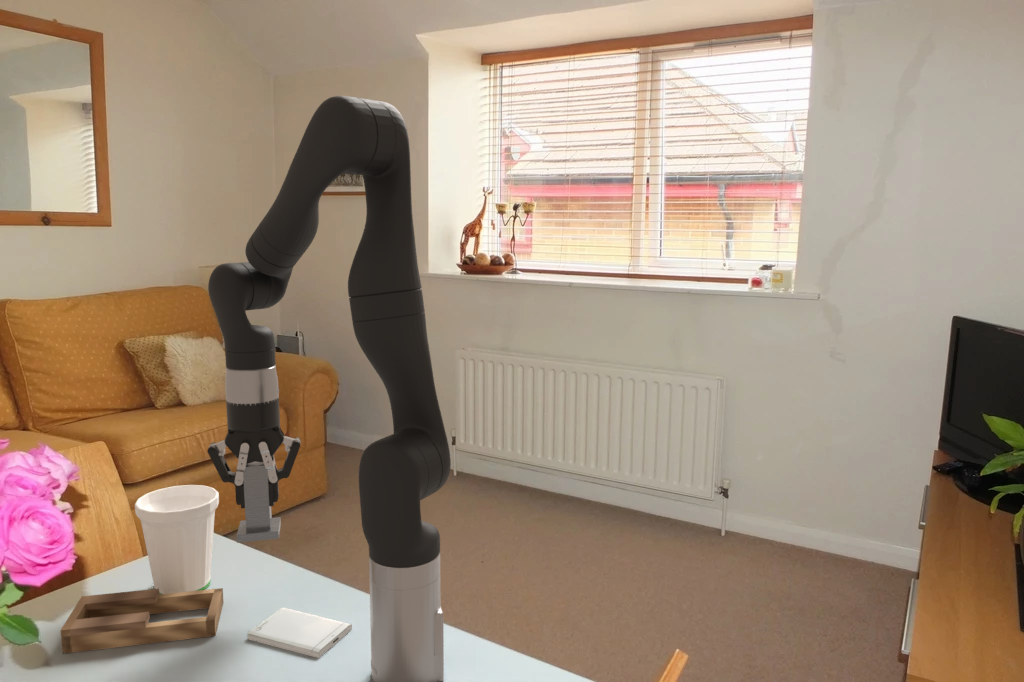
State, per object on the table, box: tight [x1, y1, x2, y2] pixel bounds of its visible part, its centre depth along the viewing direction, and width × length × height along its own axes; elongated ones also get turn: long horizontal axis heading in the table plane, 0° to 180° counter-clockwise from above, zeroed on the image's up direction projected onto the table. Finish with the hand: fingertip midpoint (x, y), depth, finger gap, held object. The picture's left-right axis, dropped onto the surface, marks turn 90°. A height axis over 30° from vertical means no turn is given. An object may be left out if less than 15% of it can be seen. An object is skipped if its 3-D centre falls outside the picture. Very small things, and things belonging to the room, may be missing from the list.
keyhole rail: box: [60, 587, 225, 654], centre depth 112 cm, size 20×10×4 cm, turn 104°
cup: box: [134, 484, 220, 594], centre depth 124 cm, size 12×12×15 cm
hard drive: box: [247, 607, 353, 659], centre depth 111 cm, size 2×8×12 cm
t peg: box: [236, 462, 282, 544], centre depth 116 cm, size 6×6×11 cm
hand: (258, 504), depth 116 cm, fingers closed on t peg, 3 cm apart
